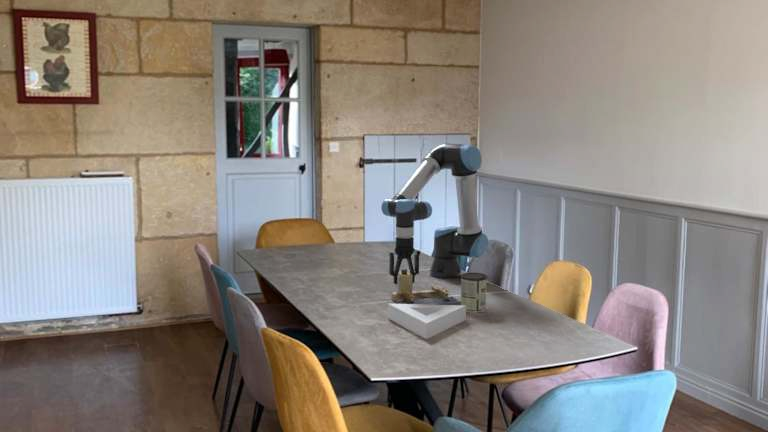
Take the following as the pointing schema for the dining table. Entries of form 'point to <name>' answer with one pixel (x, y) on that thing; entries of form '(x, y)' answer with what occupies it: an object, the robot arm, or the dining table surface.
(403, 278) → the block
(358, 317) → the dining table surface
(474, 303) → the coffee can
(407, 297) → the bar
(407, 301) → the bolt plate
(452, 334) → the dining table surface
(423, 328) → the triangle block
